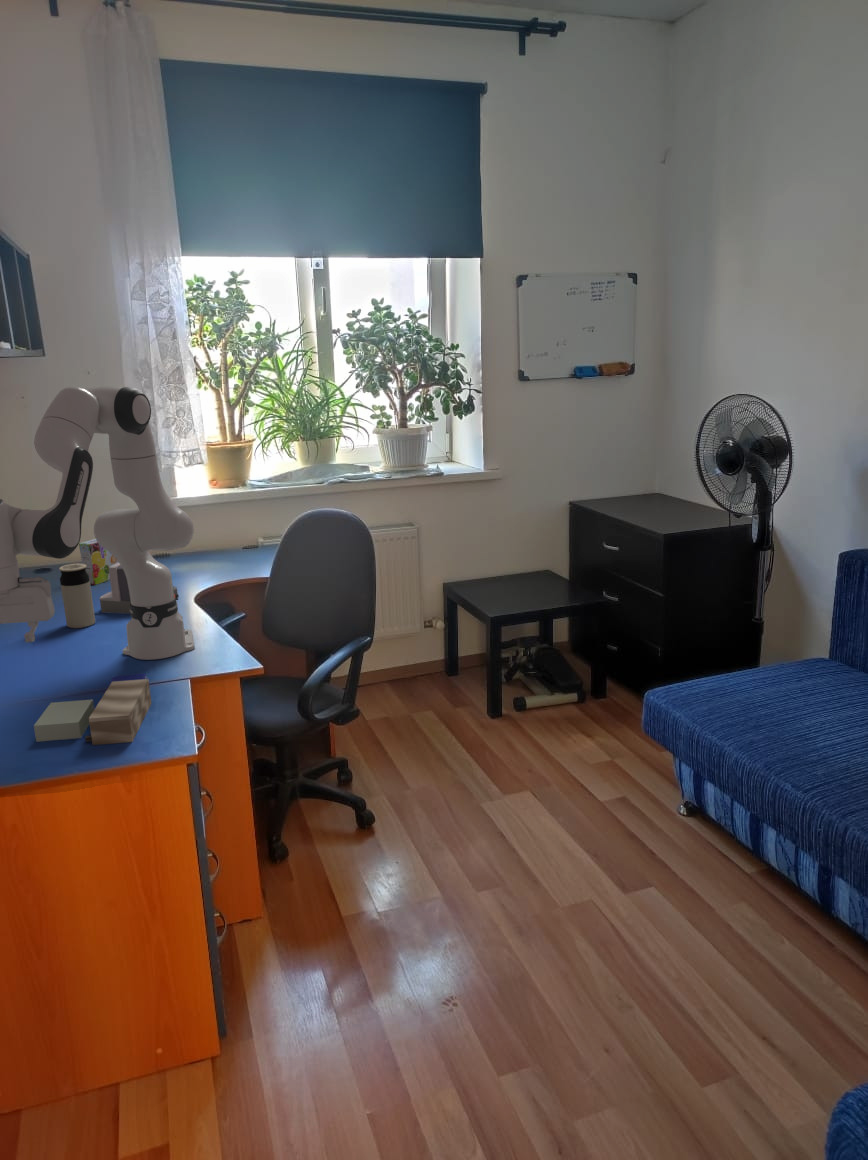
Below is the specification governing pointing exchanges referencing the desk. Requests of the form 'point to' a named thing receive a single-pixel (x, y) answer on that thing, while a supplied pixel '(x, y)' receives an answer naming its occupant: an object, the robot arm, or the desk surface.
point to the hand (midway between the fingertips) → (6, 642)
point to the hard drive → (128, 677)
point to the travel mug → (77, 596)
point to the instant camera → (119, 592)
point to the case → (64, 720)
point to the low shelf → (120, 712)
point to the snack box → (96, 561)
